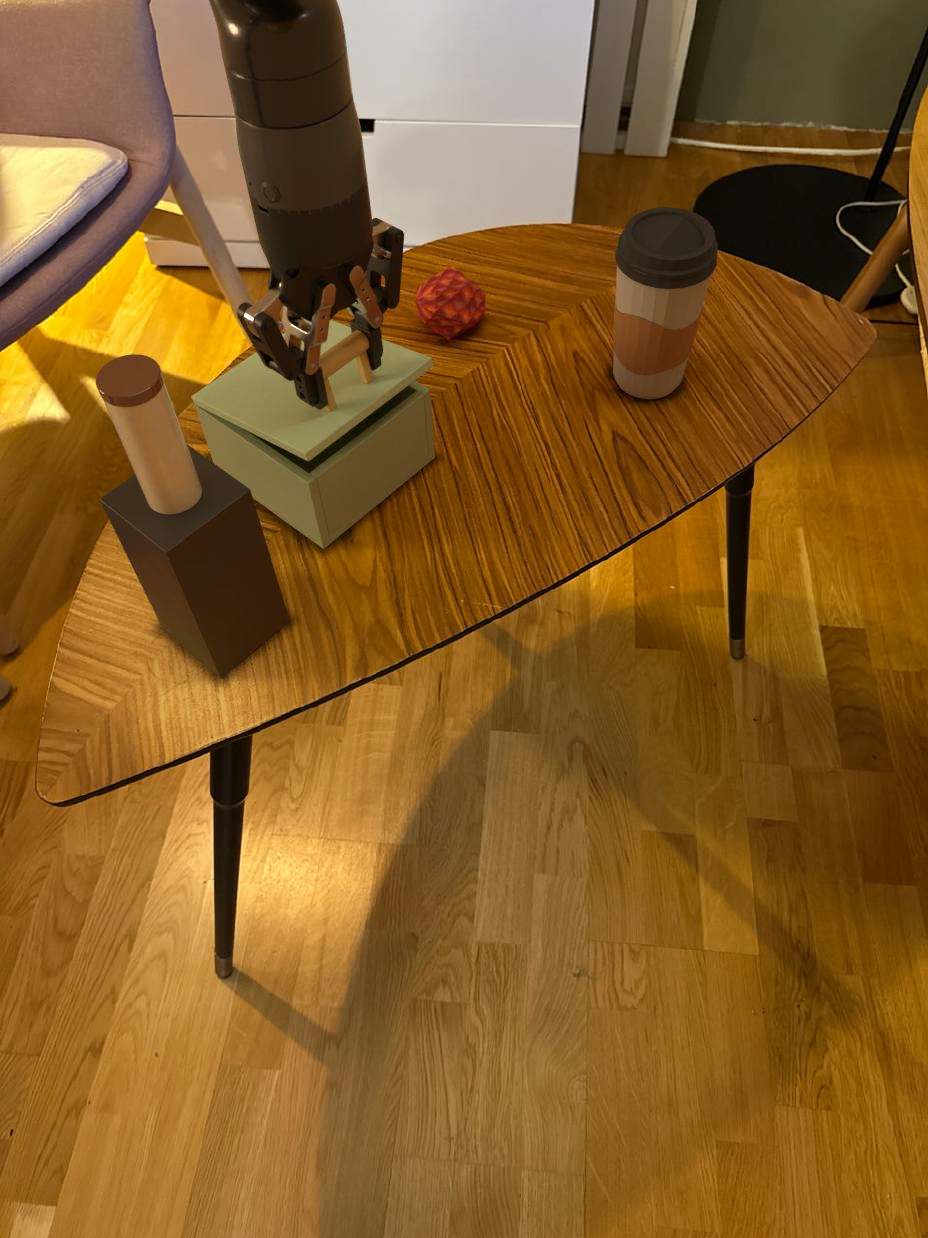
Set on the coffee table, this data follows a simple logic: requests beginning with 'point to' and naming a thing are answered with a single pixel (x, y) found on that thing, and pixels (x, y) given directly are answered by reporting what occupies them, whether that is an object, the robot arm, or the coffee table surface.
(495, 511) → the coffee table surface
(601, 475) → the coffee table surface
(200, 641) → the block
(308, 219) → the robot arm
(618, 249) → the coffee cup
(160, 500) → the canister
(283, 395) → the chest lid
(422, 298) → the red faceted ball
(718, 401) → the coffee table surface
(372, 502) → the chest
